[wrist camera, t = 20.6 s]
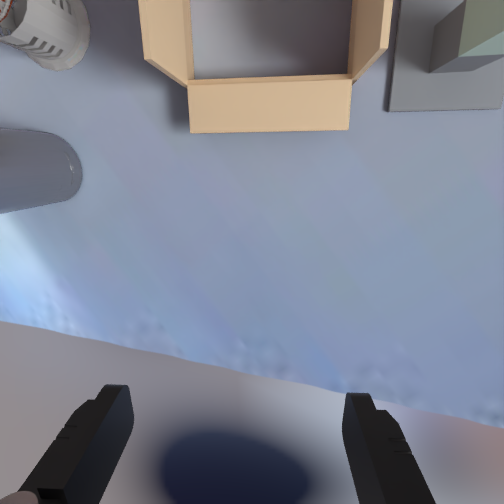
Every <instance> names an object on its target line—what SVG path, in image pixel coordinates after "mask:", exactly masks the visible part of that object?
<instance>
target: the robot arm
mask: <svg viewBox="0 0 504 504" xmlns="http://www.w3.org/2000/svg"><path fill="white" fill-rule="evenodd" d="M81 181H82V168H81V164H80V161H79V158H78V156H77V154H76V153H75V151H74V150H73V148H72V147H71V146H70V145H69V144H68V143H67V142H66V141H65V140H63V139H62V138H60V137H58V136H56V135H54V134H50V133H45V132H34V131H24V130H15V129H5V128H0V214H3V213H8V212H13V211H18V210H23V209H28V208H32V207H37V206H43V205H48V204H52V203H57V202H62V201H66V200H68V199H70V198H71V197H73V196H74V195H75V194H76V192H77V191H78V189H79V187H80V185H81ZM133 424H134V414H133V407H132V402H131V396H130V391H129V387H128V386H127V385H108V384H107V385H105V386H104V387H103V388H102V389H101V391H100V392H99V394H98V395H97V397H96V399H95V400H87V401H86V402H85V403H84V404H82V405H81V406H80V407H79V408H78V409H77V410H75V411H74V413H73V414H72V415H71V417H70V418H69V420H68V421H67V422H66V424H65V427H64V428H62V430H61V431H60V433H59V434H58V435H57V437H56V440H54V441H53V442H52V444H51V445H50V447H49V448H48V450H47V451H46V452H45V454H44V455H43V457H42V458H41V459H40V461H39V462H38V464H37V465H36V466H35V468H34V469H33V471H32V472H31V474H30V475H29V476H28V478H27V479H26V481H25V482H24V483H23V485H22V486H21V488H20V489H19V490H18V491H17V492H15V493H12V494H10V495H8V496H6V497H4V498H2V499H1V500H0V504H99V502H100V500H101V498H102V496H103V494H104V492H105V489H106V487H107V485H108V483H109V481H110V479H111V476H112V474H113V472H114V470H115V467H116V465H117V463H118V461H119V459H120V457H121V455H122V452H123V450H124V448H125V446H126V444H127V441H128V439H129V437H130V435H131V432H132V429H133ZM342 435H343V441H344V446H345V450H346V454H347V457H348V461H349V465H350V469H351V473H352V477H353V480H354V485H355V488H356V492H357V496H358V500H359V504H436V503H435V501H434V498H433V496H432V494H431V492H430V490H429V488H428V486H427V484H426V481H425V479H424V477H423V475H422V473H421V471H420V469H419V467H418V464H417V462H416V460H415V458H414V456H413V455H412V452H411V449H410V447H409V445H408V443H407V442H406V439H405V437H404V435H403V432H402V430H401V428H400V426H399V424H398V422H397V421H396V420H395V419H394V418H393V417H392V416H391V415H390V414H389V413H388V412H387V411H386V410H376V408H375V405H374V403H373V400H372V398H371V396H370V394H369V393H347V394H346V399H345V407H344V413H343V421H342Z"/></svg>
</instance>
